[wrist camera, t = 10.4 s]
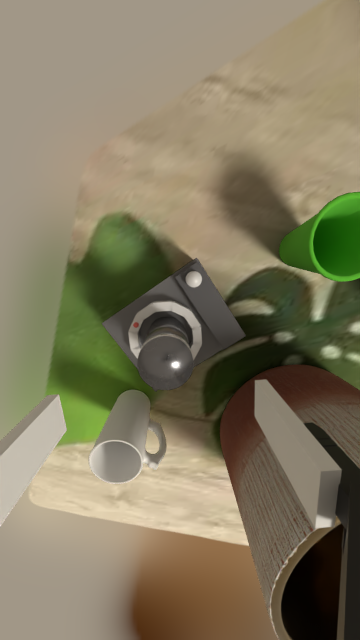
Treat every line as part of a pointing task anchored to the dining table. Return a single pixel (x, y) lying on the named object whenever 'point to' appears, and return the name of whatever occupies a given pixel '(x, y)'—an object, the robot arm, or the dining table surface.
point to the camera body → (179, 315)
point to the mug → (126, 440)
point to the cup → (328, 241)
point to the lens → (165, 355)
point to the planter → (290, 499)
